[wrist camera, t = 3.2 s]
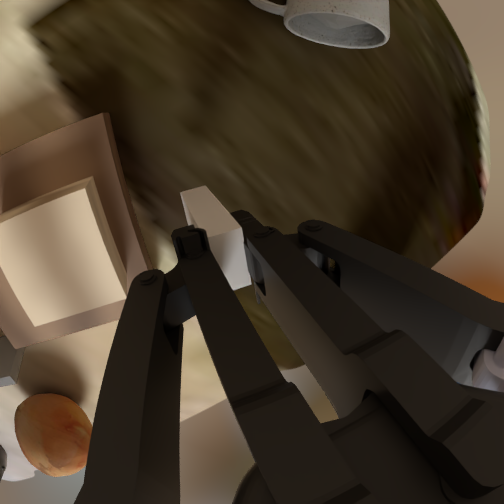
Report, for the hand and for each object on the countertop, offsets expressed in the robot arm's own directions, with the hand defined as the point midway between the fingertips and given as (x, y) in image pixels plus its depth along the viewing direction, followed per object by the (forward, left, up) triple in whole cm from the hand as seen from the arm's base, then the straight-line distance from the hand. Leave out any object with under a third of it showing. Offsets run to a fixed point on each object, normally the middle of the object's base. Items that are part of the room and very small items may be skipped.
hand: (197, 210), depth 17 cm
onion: (-22, -19, -6) cm, 30 cm away
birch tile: (-9, 0, -2) cm, 9 cm away
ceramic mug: (+12, +14, -6) cm, 20 cm away
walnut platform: (-11, 0, -6) cm, 12 cm away
